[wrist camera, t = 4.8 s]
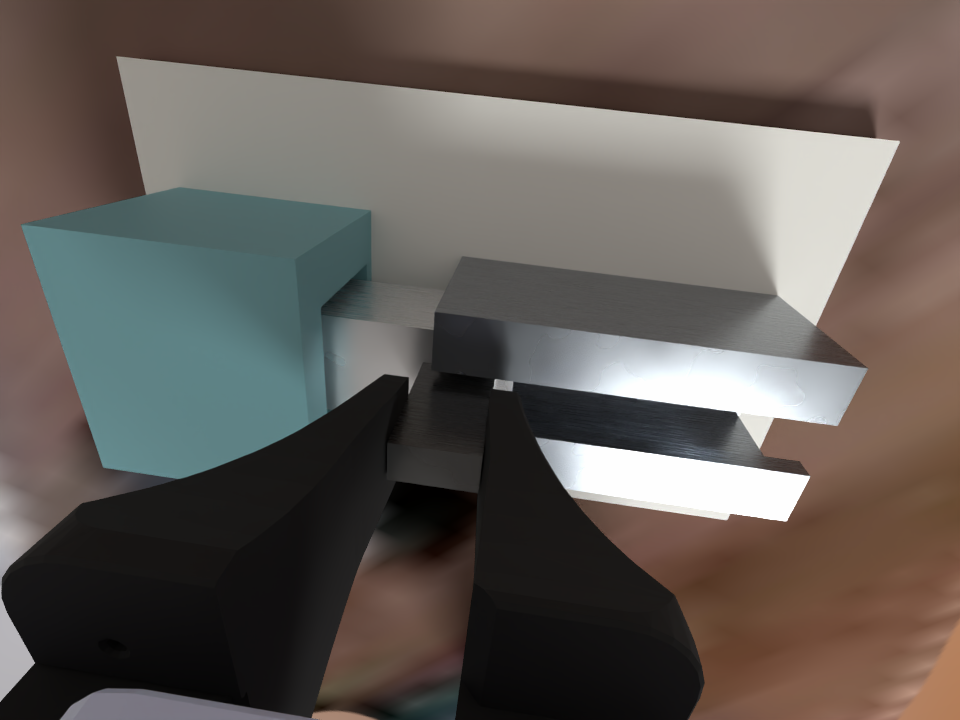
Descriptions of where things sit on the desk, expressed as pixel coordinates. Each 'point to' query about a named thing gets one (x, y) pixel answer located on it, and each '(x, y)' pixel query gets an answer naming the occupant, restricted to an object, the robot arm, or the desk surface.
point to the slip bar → (432, 394)
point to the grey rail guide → (647, 379)
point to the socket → (196, 319)
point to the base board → (520, 183)
